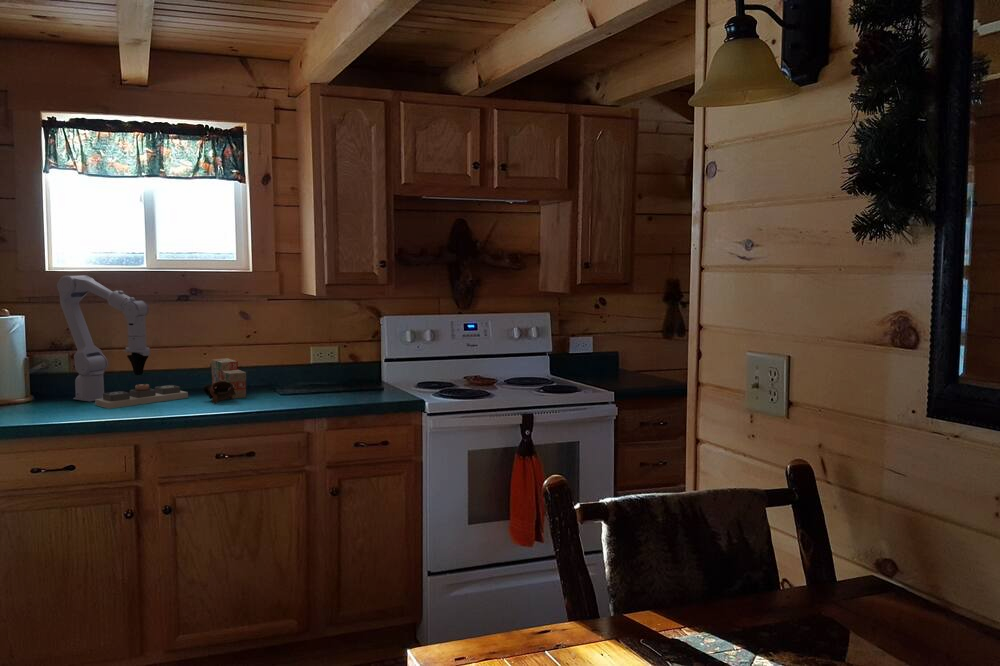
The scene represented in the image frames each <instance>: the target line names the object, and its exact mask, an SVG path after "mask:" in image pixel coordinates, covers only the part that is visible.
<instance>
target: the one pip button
mask: <svg viewBox="0 0 1000 666" xmlns="http://www.w3.org/2000/svg"><path fill="white" fill-rule="evenodd" d="M161 386H162V387H161V388H163V389H165V388H173V387H174V386H166V385H161Z"/></svg>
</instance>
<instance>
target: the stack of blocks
mask: <svg viewBox="0 0 1000 666" xmlns="http://www.w3.org/2000/svg"><path fill="white" fill-rule="evenodd" d="M210 362H211V381H212V383H211V385H212V384H213V383H215V382H217V381H227V382H230V383H231V384H232V385H233V387H234V389H235V390H234V391H235V394H236V395H232V399H242V398H247V372H246V371H243V370H240V369H239V367H238V366H239V365H238V364H239V362H238V361H237V360H235V359H231V358H228V357H226V358H214V359H213V358H212V359H210ZM215 388H217V387H215ZM230 388H231V387H230ZM230 388H228V391H229V390H230ZM232 399H231V400H232Z"/></svg>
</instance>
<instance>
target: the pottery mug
mask: <svg viewBox="0 0 1000 666" xmlns="http://www.w3.org/2000/svg"><path fill="white" fill-rule="evenodd" d="M215 387H217V388H215ZM230 387H231V388H230ZM228 388H230V390H229V391H228ZM202 389H203V392H204V393H205V395H206V396H208V397H209V399H210V400H211V399H212V400H211V402H212V403H213V404H214V405H216V404H217V403H218V402H221V401H225V400H232V395H236V394H235V391H234V390H235V389H234V387H233V385H232V384H231V383H230V382H227V381H217V382H215V383H213V384H212V383H206V384H205V385H204V386H203V388H202Z"/></svg>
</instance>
